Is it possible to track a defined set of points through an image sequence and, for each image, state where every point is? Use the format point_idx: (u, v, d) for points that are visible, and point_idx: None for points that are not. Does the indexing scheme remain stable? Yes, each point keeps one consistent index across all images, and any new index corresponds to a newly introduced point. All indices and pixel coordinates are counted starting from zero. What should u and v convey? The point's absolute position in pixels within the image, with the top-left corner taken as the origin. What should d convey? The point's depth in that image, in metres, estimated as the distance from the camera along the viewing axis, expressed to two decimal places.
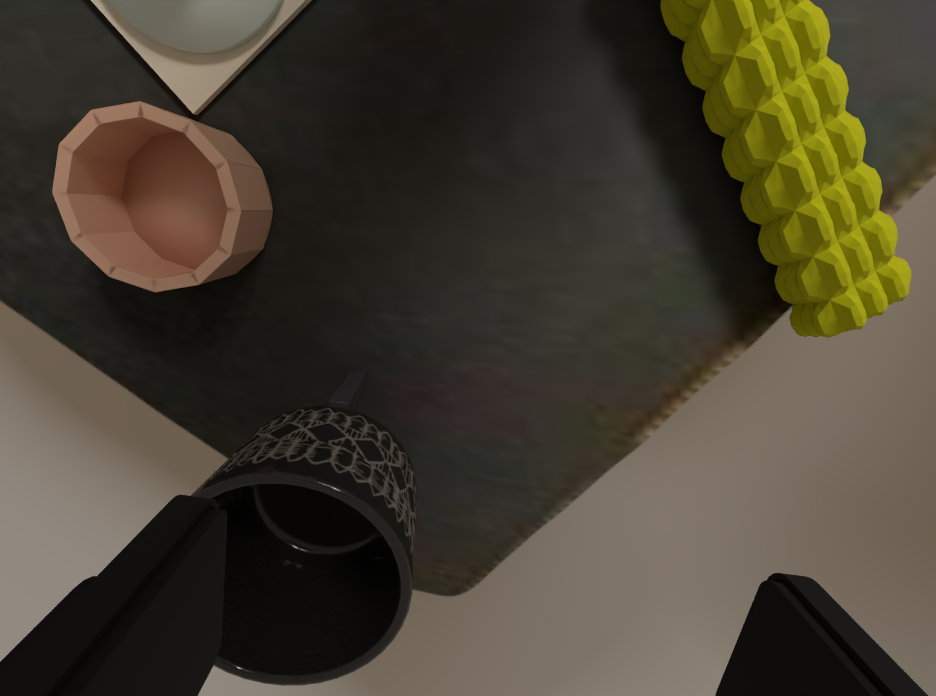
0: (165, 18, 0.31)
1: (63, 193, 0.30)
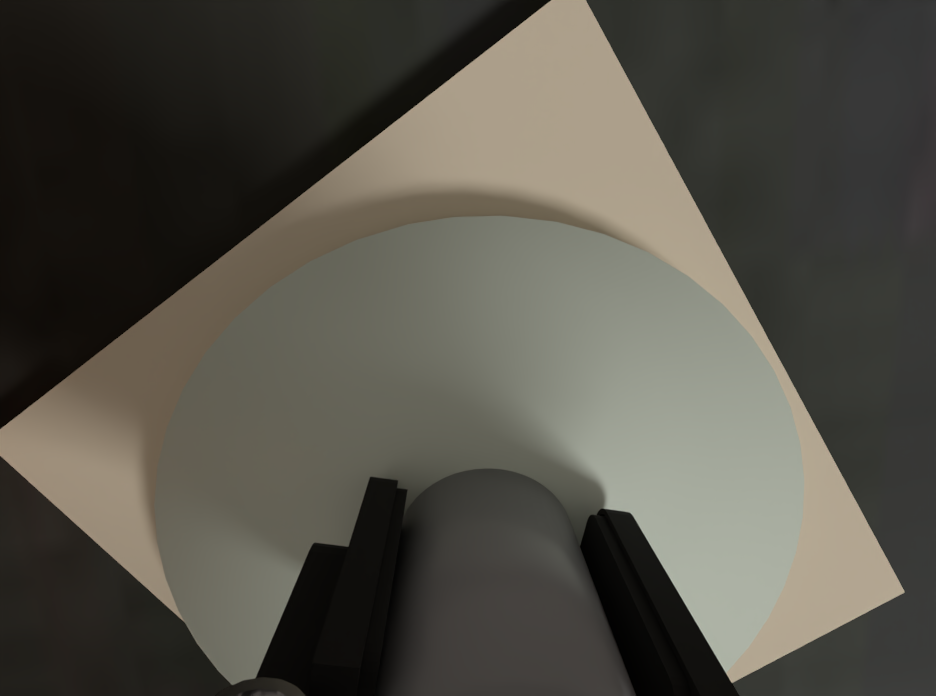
0: (246, 450, 0.09)
1: None
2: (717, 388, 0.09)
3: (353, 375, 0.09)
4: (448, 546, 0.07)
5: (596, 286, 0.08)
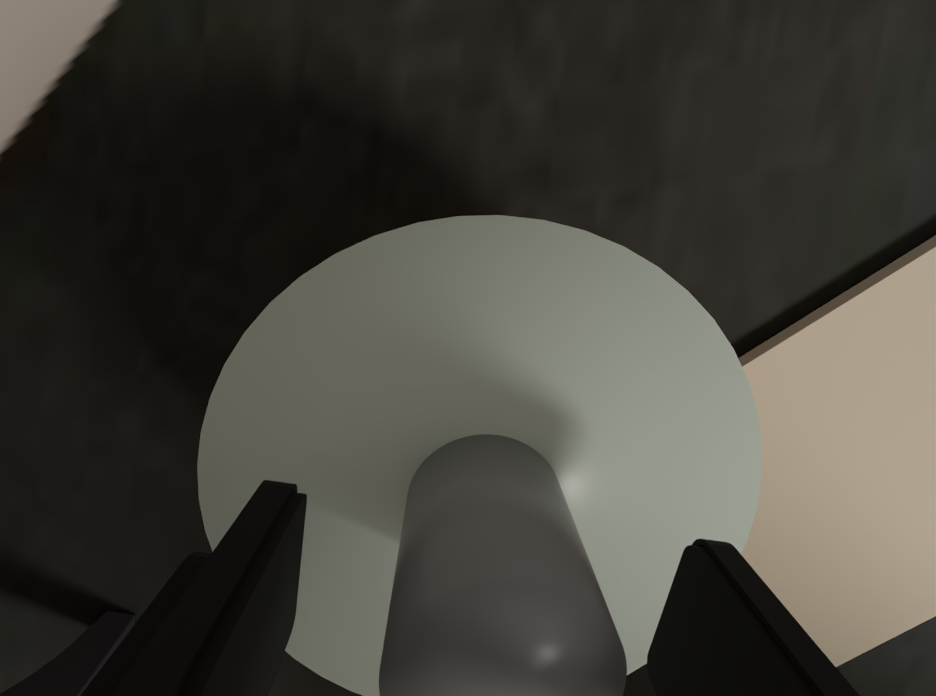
0: (277, 418, 0.10)
1: None
2: (685, 364, 0.10)
3: (370, 352, 0.10)
4: (453, 492, 0.09)
5: (579, 275, 0.10)
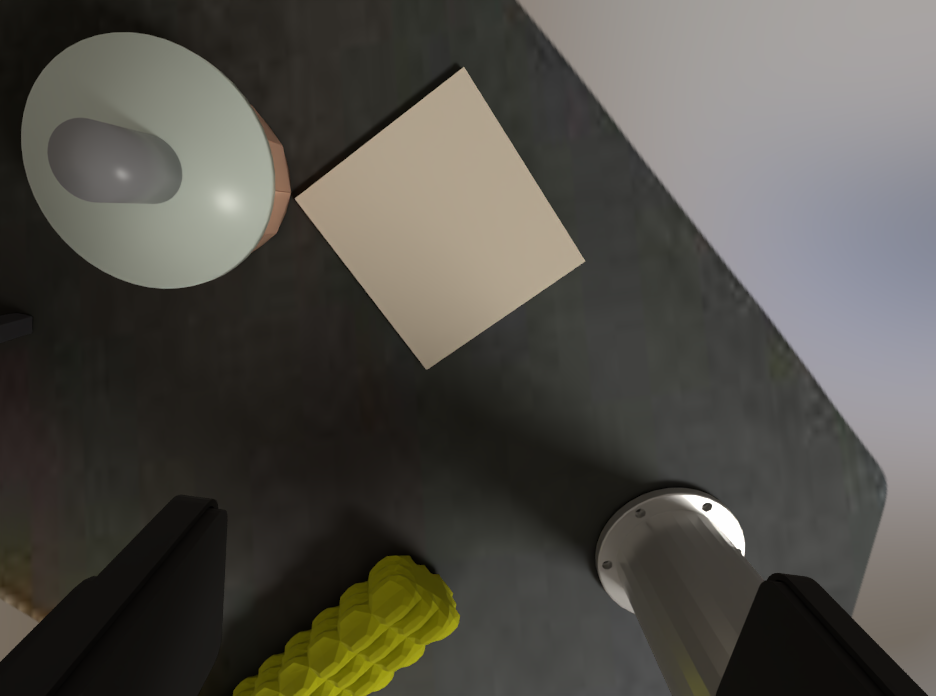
0: (52, 123, 0.25)
1: None
2: (220, 100, 0.25)
3: (87, 92, 0.25)
4: None
5: (166, 58, 0.25)
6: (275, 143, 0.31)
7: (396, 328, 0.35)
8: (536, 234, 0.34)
